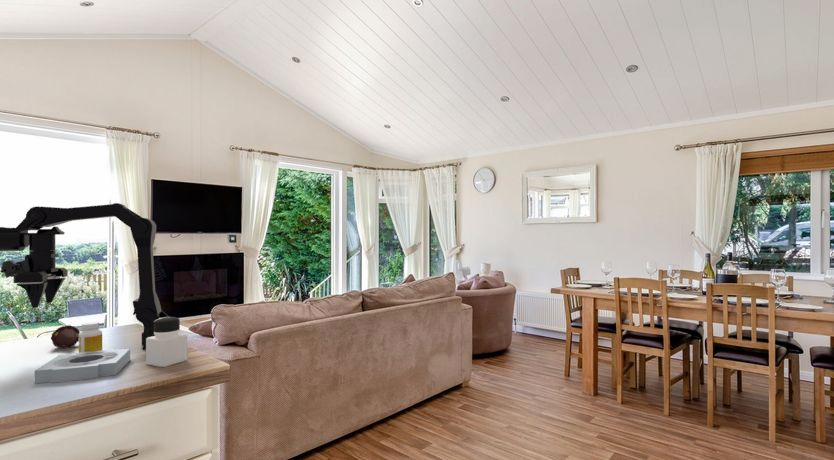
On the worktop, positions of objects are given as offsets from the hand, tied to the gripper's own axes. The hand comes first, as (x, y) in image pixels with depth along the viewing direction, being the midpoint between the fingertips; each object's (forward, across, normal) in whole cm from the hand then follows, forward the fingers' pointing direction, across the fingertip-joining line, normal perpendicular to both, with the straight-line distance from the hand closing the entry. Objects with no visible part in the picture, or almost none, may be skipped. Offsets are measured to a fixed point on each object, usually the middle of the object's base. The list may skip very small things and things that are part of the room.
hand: (42, 305), depth 124 cm
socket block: (+15, +21, +16) cm, 30 cm away
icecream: (+15, -10, +2) cm, 18 cm away
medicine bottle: (+15, +21, +34) cm, 43 cm away
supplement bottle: (+15, +7, +13) cm, 21 cm away
